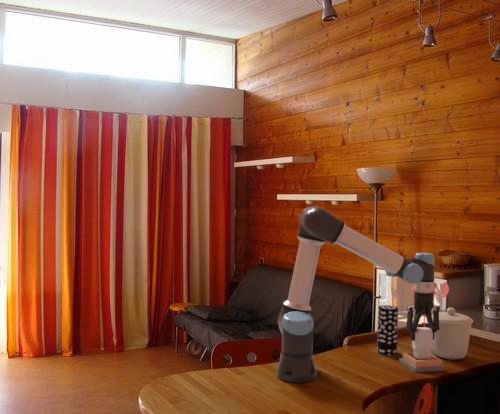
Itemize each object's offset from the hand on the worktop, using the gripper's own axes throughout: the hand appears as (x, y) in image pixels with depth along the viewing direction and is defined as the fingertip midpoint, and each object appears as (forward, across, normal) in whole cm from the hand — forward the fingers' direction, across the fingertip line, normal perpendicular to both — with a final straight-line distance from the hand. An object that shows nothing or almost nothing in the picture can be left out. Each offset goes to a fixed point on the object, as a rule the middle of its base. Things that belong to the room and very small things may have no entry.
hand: (422, 347), depth 231 cm
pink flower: (+8, +17, +28) cm, 34 cm away
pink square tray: (+7, 0, 0) cm, 7 cm away
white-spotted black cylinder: (+8, -6, +19) cm, 21 cm away
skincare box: (+4, 0, 0) cm, 4 cm away
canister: (+8, +19, +10) cm, 23 cm away
